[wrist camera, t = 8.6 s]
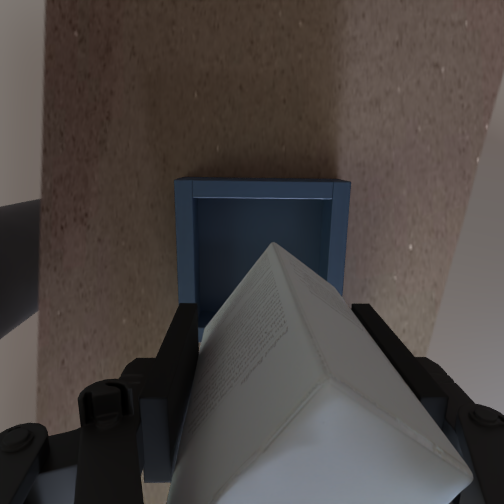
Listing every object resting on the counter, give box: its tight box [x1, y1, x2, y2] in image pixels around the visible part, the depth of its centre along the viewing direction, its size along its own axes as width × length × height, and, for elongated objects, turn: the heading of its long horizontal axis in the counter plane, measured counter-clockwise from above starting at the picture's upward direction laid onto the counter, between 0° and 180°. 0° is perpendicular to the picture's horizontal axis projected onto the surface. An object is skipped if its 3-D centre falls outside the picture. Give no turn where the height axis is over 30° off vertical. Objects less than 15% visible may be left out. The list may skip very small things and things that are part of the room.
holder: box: [174, 177, 351, 342], centre depth 28 cm, size 12×12×4 cm
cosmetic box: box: [166, 242, 473, 504], centre depth 13 cm, size 6×4×12 cm
